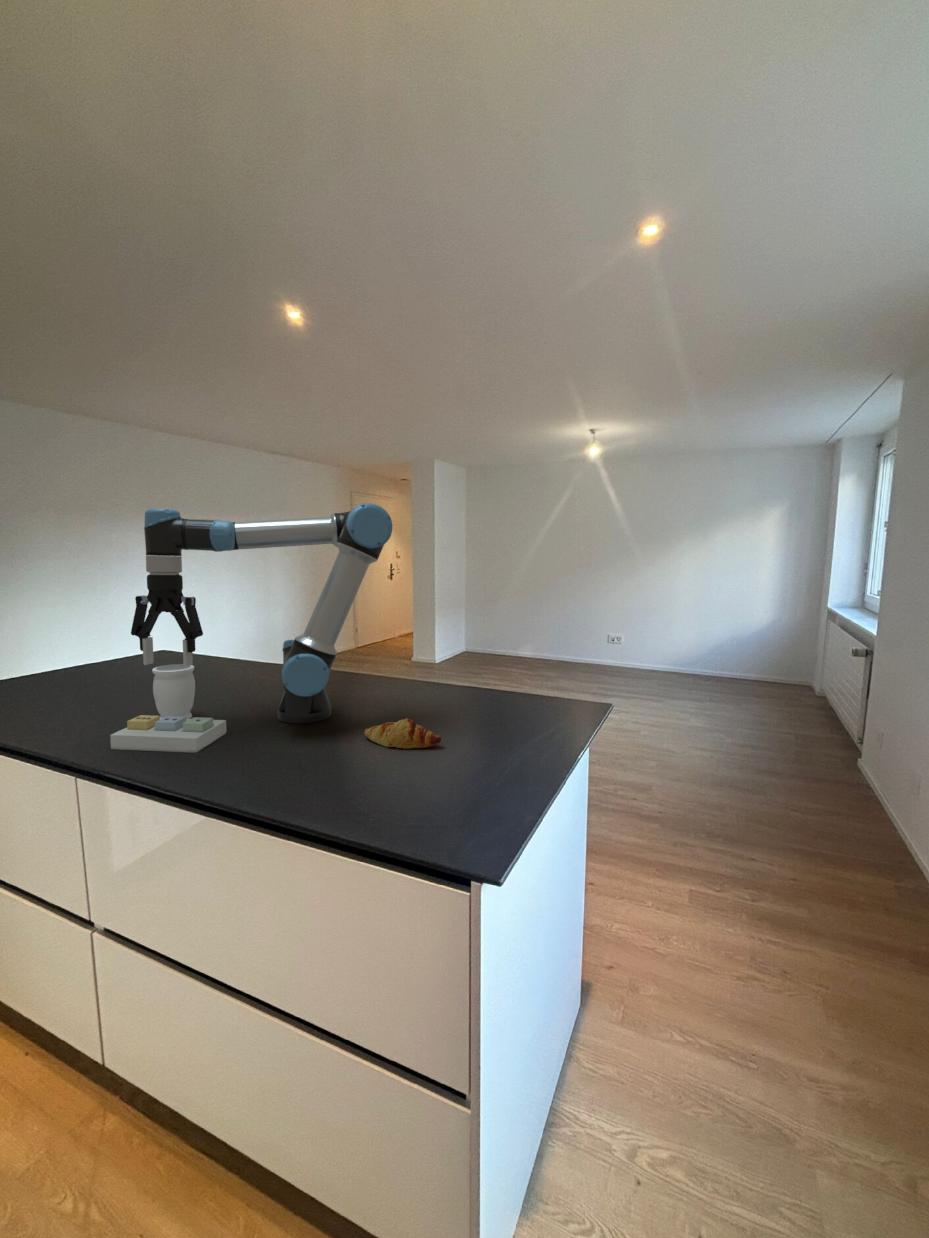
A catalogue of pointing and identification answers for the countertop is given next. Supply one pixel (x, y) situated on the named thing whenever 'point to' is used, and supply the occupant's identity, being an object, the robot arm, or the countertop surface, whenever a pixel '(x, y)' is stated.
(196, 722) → the tile one
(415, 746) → the croissant
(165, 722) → the tile two
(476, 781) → the countertop surface
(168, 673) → the jar
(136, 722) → the tile three
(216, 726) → the button board
